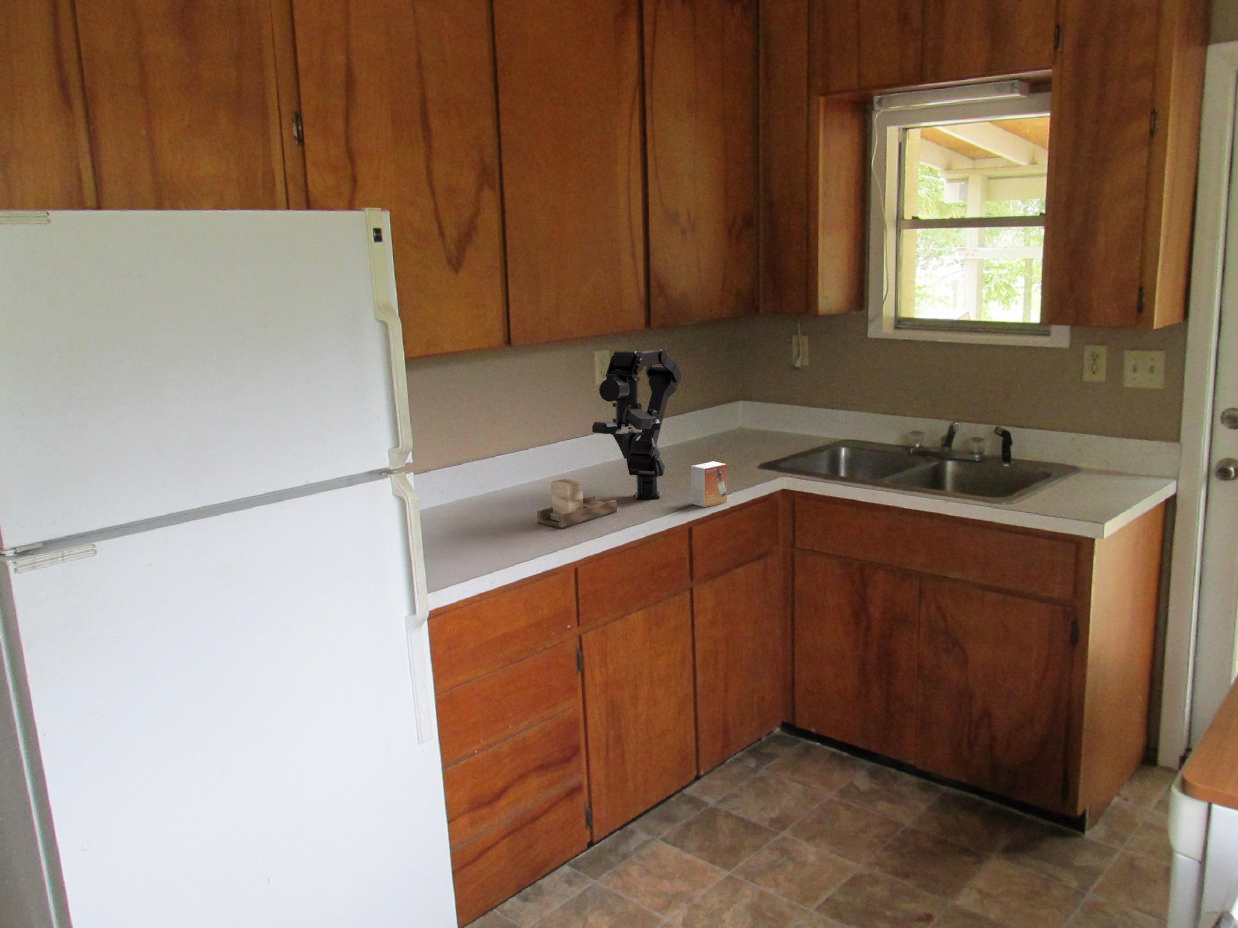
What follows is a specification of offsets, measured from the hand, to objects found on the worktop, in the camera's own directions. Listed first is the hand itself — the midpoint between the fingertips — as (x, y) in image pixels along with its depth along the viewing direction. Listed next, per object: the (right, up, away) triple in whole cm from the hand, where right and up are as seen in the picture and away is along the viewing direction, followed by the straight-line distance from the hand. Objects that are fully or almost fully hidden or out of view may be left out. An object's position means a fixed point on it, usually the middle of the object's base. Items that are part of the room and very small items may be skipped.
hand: (626, 458), depth 271 cm
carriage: (-15, -14, -8) cm, 22 cm away
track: (-13, -15, -5) cm, 20 cm away
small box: (+22, -12, +4) cm, 25 cm away
